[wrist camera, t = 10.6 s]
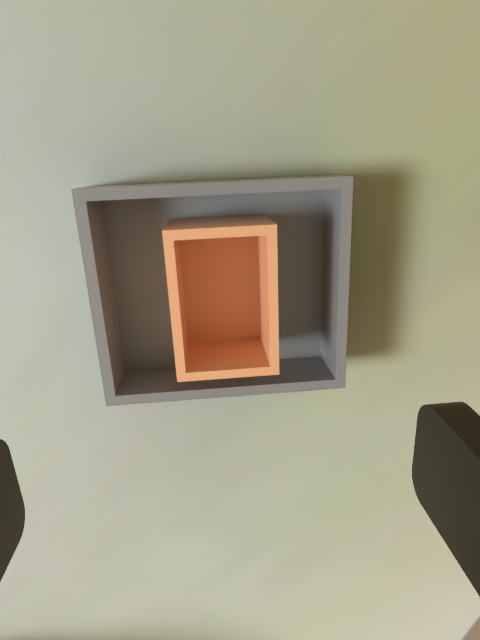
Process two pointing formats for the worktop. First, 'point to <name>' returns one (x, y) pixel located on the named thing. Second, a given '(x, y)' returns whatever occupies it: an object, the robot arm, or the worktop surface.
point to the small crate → (223, 296)
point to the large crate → (152, 291)
